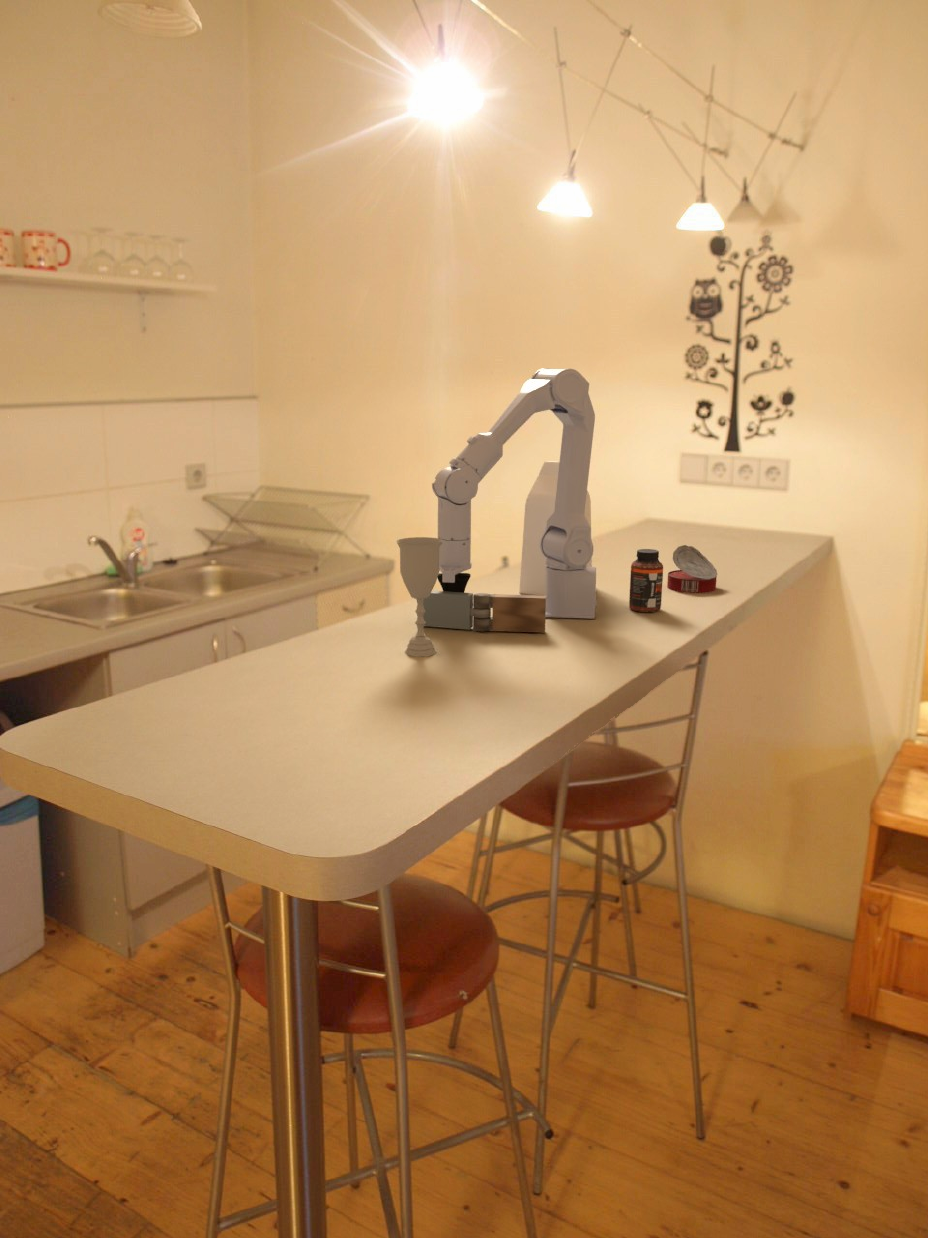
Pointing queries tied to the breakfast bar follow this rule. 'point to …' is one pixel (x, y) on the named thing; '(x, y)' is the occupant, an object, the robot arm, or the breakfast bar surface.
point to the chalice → (419, 583)
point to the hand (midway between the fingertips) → (453, 614)
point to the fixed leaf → (511, 612)
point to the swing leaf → (452, 610)
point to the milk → (540, 528)
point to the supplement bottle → (646, 582)
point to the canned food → (691, 572)
